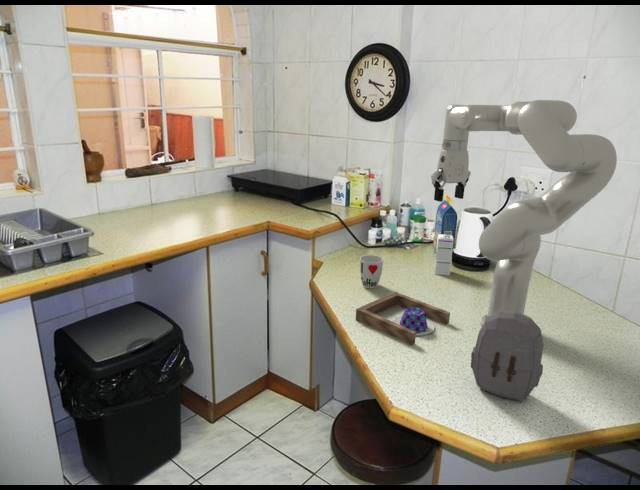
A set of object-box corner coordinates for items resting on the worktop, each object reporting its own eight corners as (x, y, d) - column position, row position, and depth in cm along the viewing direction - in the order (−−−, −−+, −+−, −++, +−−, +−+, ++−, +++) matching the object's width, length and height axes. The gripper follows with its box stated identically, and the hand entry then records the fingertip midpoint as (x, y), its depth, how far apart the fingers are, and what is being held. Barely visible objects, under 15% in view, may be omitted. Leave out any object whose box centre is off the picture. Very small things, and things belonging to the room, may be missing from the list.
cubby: (448, 323, 138) (450, 312, 137) (411, 345, 125) (412, 333, 124) (394, 301, 151) (395, 291, 150) (355, 319, 138) (356, 308, 137)
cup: (354, 286, 162) (356, 260, 159) (363, 279, 169) (365, 253, 166) (376, 291, 159) (378, 264, 156) (384, 284, 165) (386, 257, 162)
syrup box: (450, 276, 175) (454, 239, 170) (434, 274, 176) (438, 237, 171) (449, 270, 180) (453, 234, 176) (433, 269, 181) (437, 233, 177)
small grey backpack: (538, 394, 106) (554, 315, 100) (533, 414, 99) (550, 330, 93) (471, 373, 113) (482, 298, 107) (462, 391, 106) (473, 312, 100)
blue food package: (446, 249, 205) (453, 193, 197) (452, 258, 194) (460, 200, 186) (432, 249, 205) (438, 193, 198) (437, 258, 194) (444, 199, 186)
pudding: (418, 341, 128) (420, 324, 126) (384, 326, 136) (385, 309, 134) (442, 328, 136) (444, 312, 134) (408, 314, 144) (410, 298, 142)
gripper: (444, 148, 138) (438, 204, 143) (482, 146, 147) (475, 199, 152) (426, 145, 144) (421, 199, 149) (463, 143, 153) (457, 194, 158)
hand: (448, 199), depth 151 cm, fingers open, 9 cm apart
